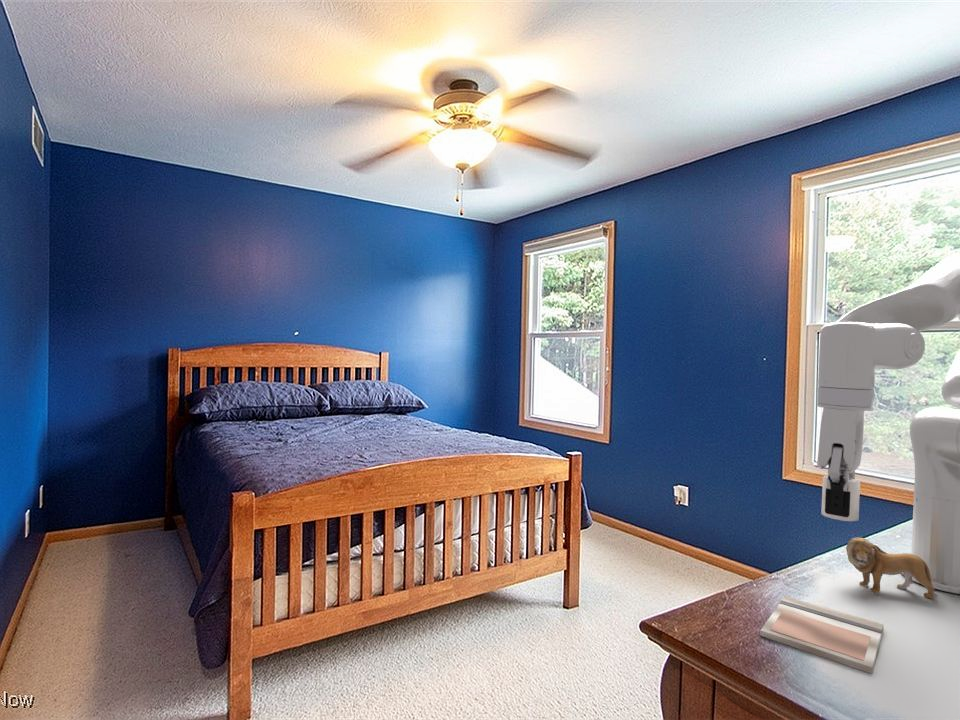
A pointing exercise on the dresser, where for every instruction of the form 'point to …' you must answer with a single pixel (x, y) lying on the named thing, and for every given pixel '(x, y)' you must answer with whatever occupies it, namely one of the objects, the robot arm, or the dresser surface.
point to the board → (825, 633)
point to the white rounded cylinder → (854, 500)
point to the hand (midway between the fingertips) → (839, 510)
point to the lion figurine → (887, 565)
